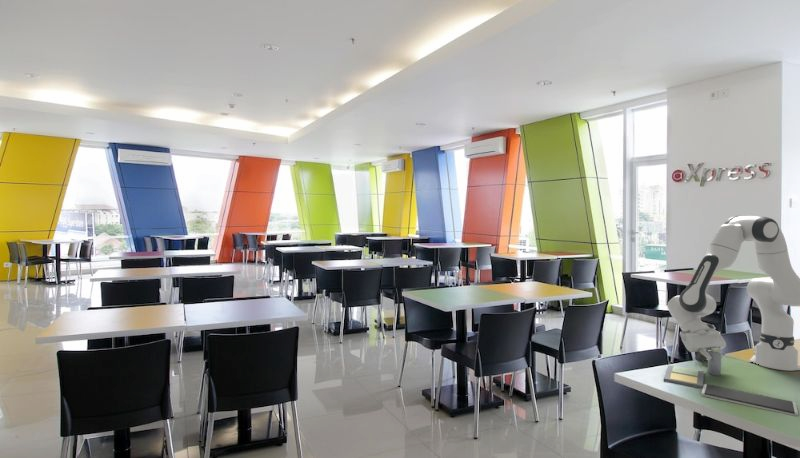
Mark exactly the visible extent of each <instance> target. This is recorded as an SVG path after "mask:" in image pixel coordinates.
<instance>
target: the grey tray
mask: <svg viewBox="0 0 800 458" xmlns="http://www.w3.org/2000/svg"><path fill="white" fill-rule="evenodd" d="M700 394H701V395H700V396H702V397H705V398H710V399H715V400H719V401H725V402H729V403H732V404H738V405H743V406H747V407H753V408H758V409H761V410H762V409H763V410H766V411H772V412H777V413H781V414H785V415H791V416H795V417H799V411H798V407H797V403H796V402H795V401H792V400H786V399H782V398H776V397H772V396H767V395H763V394H758V393H754V392H747V391H743V390H739V389H734V388H728V387H723V386H720V385H719V386H718V385H714V384H708V383H703V388H702V390H701V393H700Z"/></svg>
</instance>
